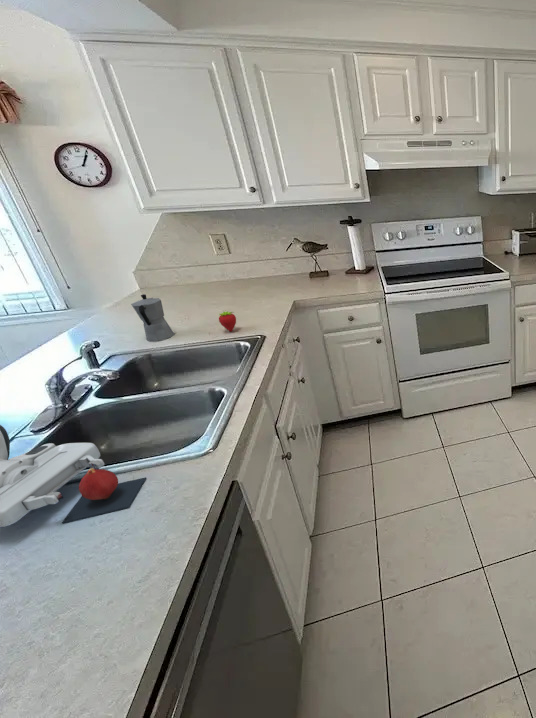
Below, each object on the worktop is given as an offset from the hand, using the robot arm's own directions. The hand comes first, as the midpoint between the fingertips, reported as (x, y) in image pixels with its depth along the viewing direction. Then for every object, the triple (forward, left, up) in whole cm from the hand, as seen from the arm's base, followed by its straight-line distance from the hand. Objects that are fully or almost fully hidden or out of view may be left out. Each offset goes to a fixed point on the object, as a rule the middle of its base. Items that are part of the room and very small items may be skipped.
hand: (80, 480), depth 84 cm
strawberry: (+8, +93, -6) cm, 94 cm away
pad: (+3, -1, -6) cm, 6 cm away
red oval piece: (+3, -1, -5) cm, 6 cm away
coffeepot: (-18, +97, -6) cm, 99 cm away
